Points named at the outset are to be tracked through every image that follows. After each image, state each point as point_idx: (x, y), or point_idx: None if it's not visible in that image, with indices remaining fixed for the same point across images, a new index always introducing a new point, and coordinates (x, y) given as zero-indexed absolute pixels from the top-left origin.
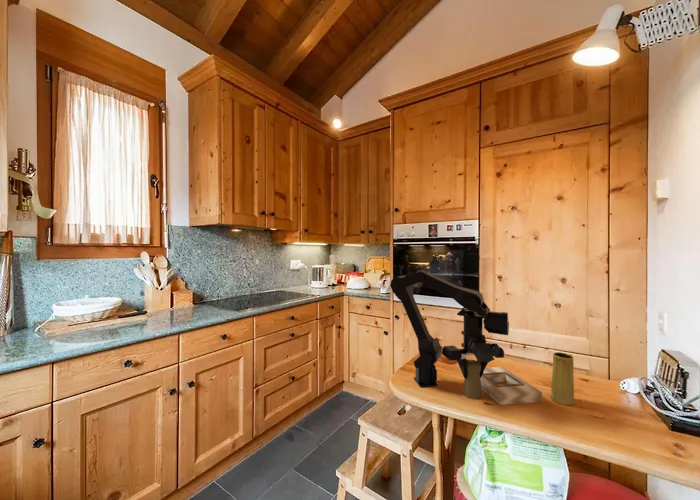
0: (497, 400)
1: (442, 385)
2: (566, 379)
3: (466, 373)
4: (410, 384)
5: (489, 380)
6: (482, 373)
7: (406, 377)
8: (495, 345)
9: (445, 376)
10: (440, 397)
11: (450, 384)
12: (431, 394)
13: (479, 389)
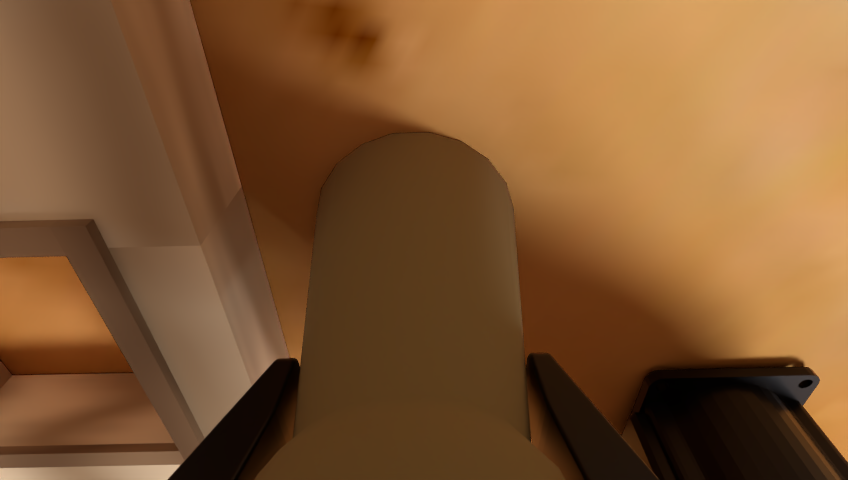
0: (187, 34)
1: (597, 373)
2: None
3: (572, 423)
4: (843, 402)
5: (154, 354)
6: (237, 412)
7: None
8: None
9: None
10: (782, 206)
11: None
12: (818, 262)
13: (369, 200)
